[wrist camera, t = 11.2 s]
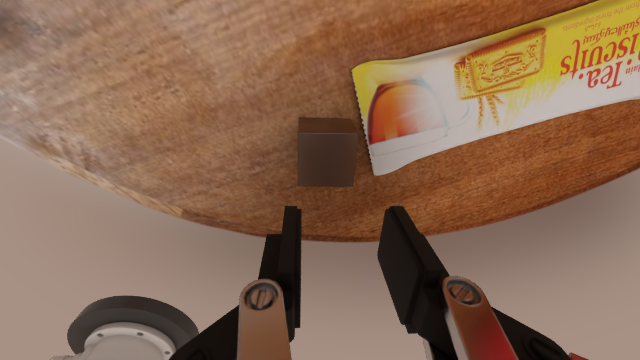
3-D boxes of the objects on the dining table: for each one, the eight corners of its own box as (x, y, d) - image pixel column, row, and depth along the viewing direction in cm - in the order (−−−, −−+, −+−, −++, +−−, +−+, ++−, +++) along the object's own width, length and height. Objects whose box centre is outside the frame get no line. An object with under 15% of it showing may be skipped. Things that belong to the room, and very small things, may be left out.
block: (298, 164, 25) (297, 186, 21) (298, 117, 23) (297, 132, 19) (345, 164, 25) (353, 186, 21) (349, 118, 23) (359, 133, 19)
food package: (755, -60, 17) (697, 93, 21) (707, -49, 19) (663, 89, 23) (352, 68, 19) (376, 182, 24) (347, 66, 21) (370, 172, 26)
